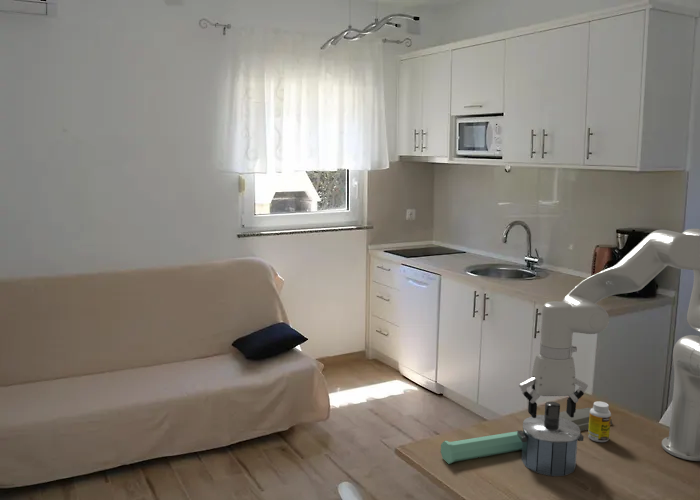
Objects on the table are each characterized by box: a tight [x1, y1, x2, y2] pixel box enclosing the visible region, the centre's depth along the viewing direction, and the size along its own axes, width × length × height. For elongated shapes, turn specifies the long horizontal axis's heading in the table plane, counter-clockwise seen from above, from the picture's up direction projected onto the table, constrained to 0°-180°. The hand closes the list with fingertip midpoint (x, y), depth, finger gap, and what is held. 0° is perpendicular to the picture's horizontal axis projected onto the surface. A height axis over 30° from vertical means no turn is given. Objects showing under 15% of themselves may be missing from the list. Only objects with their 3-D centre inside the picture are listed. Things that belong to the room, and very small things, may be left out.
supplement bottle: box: [587, 401, 612, 443], centre depth 181 cm, size 6×6×10 cm
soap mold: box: [559, 407, 613, 432], centre depth 191 cm, size 10×20×4 cm, turn 113°
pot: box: [517, 429, 585, 477], centre depth 167 cm, size 16×13×9 cm
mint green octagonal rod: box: [440, 430, 523, 465], centre depth 172 cm, size 6×6×25 cm
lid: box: [522, 401, 581, 443], centre depth 165 cm, size 14×14×7 cm
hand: (551, 415), depth 165 cm, fingers open, 9 cm apart
